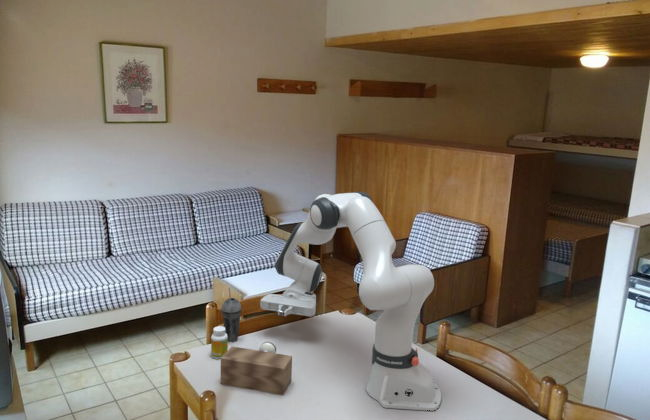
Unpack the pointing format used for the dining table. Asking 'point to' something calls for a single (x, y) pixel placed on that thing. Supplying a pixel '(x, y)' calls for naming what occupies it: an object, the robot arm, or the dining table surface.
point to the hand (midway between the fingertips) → (281, 313)
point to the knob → (268, 347)
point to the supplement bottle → (219, 342)
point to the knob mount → (256, 370)
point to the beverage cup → (231, 317)
